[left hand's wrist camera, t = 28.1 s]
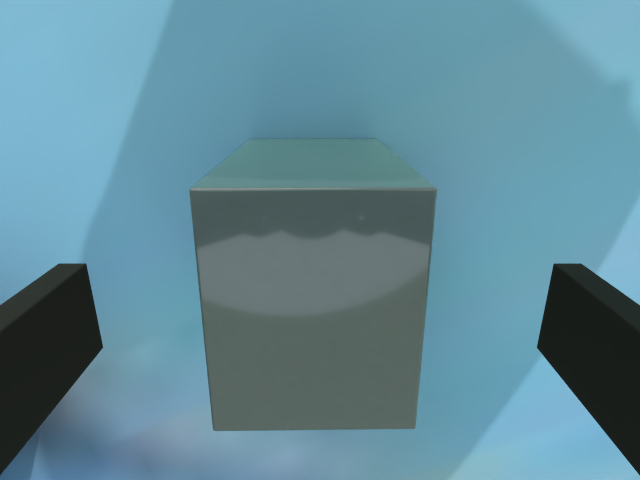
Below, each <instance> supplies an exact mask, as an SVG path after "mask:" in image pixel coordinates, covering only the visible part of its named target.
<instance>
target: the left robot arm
mask: <svg viewBox="0 0 640 480" xmlns="http://www.w3.org/2000/svg"><path fill="white" fill-rule="evenodd" d="M102 348H103V345H102V340H101V335H100V330H99V325H98V320H97V315H96V310H95V305H94V300H93V295H92V290H91V285H90V280H89V275H88V270H87V265H86V264H58V265H56V266H55V267H54V268H52V269H51V270H49V271H48V272H46V273H45V274H44V275H42V276H41V277H39V278H38V279H37V280H35V281H34V282H32V283H31V284H30V285H28V286H27V287H25V288H24V289H23V290H21V291H20V292H18V293H17V294H16V295H14V296H13V297H11V298H10V299H9V300H7V301H6V302H4V303H3V304H2V305H0V475H1V474H2V472H3V471H4V470H5V469H6V467H7V466H8V465H9V464H10V462H11V461H12V460H13V459H14V457H15V456H16V455H17V454H18V453H19V451H20V450H21V449H22V448H23V446H24V445H25V444H26V443H27V441H28V440H29V439H30V438H31V436H32V435H33V434H34V433H35V431H36V430H37V429H38V428H39V426H40V425H41V424H42V423H43V421H44V420H45V419H46V418H47V416H48V415H49V414H50V413H51V412H52V410H53V409H54V408H55V407H56V405H57V404H58V403H59V402H60V400H61V399H62V398H63V397H64V395H65V394H66V393H67V392H68V390H69V389H70V388H71V387H72V385H73V384H74V383H75V382H76V380H77V379H78V378H79V377H80V375H81V374H82V373H83V372H84V371H85V369H86V368H87V367H88V366H89V364H90V363H91V362H92V361H93V359H94V358H95V357H96V356H97V354H98V353H99V352H100V351H101V349H102ZM537 348H538V349H539V351H540V352H541V353H542V354H543V356H544V357H545V358H546V359H547V361H548V362H549V363H550V364H551V366H552V367H553V368H554V369H555V371H556V372H557V373H558V374H559V375H560V377H561V378H562V379H563V380H564V382H565V383H566V384H567V385H568V387H569V388H570V389H571V390H572V392H573V393H574V394H575V395H576V397H577V398H578V399H579V400H580V402H581V403H582V404H583V405H584V407H585V408H586V409H587V410H588V412H589V413H590V414H591V415H592V416H593V418H594V419H595V420H596V421H597V423H598V424H599V425H600V426H601V428H602V429H603V430H604V431H605V433H606V434H607V435H608V436H609V438H610V439H611V440H612V441H613V443H614V444H615V445H616V446H617V448H618V449H619V450H620V451H621V453H622V454H623V455H624V456H625V458H626V459H627V460H628V461H629V462H630V464H631V465H632V466H633V467H634V469H635V470H636V471H637V472H638V474H639V475H640V305H638V304H637V303H636V302H634V301H633V300H631V299H630V298H629V297H627V296H626V295H624V294H623V293H622V292H620V291H619V290H617V289H616V288H615V287H613V286H612V285H610V284H609V283H608V282H606V281H605V280H603V279H602V278H601V277H599V276H598V275H596V274H595V273H594V272H592V271H591V270H589V269H588V268H586V267H585V266H584V265H582V264H554V265H553V270H552V275H551V280H550V285H549V290H548V295H547V300H546V305H545V310H544V315H543V320H542V325H541V330H540V335H539V340H538V345H537Z"/></svg>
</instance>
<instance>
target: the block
mask: <svg viewBox="0 0 640 480" xmlns="http://www.w3.org/2000/svg"><path fill="white" fill-rule="evenodd" d="M189 192H190V202H191V212H192V223H193V233H194V243H195V253H196V263H197V273H198V283H199V293H200V303H201V313H202V323H203V333H204V344H205V354H206V364H207V374H208V384H209V394H210V404H211V414H212V424H213V430H214V431H260V430H353V429H414V428H415V426H416V415H417V404H418V393H419V382H420V371H421V360H422V349H423V338H424V327H425V316H426V305H427V294H428V283H429V271H430V260H431V249H432V238H433V227H434V216H435V205H436V194H437V189H436V187H435V186H433V185H432V184H431V183H430V182H429V181H427V180H426V179H425V178H424V177H422V176H421V175H420V174H419V173H417V172H416V171H415V170H414V169H413V168H411V167H410V166H409V165H408V164H406V163H405V162H404V161H403V160H402V159H400V158H399V157H398V156H397V155H395V154H394V153H393V152H392V151H391V150H389V149H388V148H387V147H386V146H384V145H383V144H382V143H381V142H380V141H378V140H377V139H249V140H248V141H247V142H245V143H244V144H243V145H242V146H241V147H239V148H238V149H237V150H236V151H235V152H233V153H232V154H231V155H230V156H229V157H227V158H226V159H225V160H224V161H223V162H221V163H220V164H219V165H218V166H216V167H215V168H214V169H213V170H212V171H210V172H209V173H208V174H207V175H206V176H204V177H203V178H202V179H201V180H200V181H198V182H197V183H196V184H195V185H193V186H192V187H191V188H190V190H189Z"/></svg>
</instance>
